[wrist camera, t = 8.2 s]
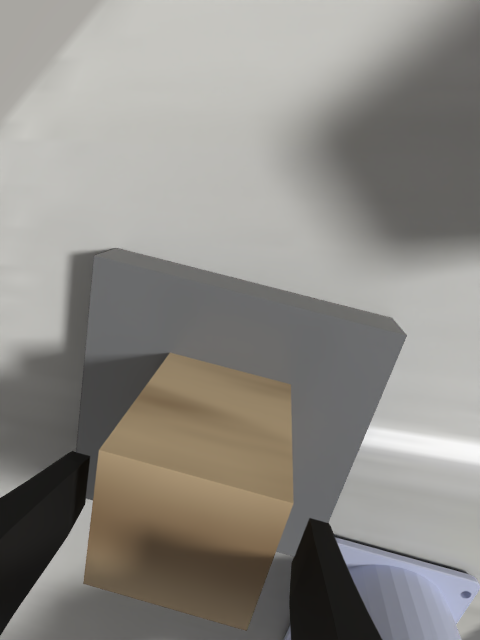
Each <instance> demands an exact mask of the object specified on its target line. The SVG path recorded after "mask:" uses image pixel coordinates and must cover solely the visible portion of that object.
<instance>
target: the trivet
mask: <svg viewBox="0 0 480 640" xmlns="http://www.w3.org/2000/svg"><path fill="white" fill-rule="evenodd" d="M406 337H407V335H406V334H405V333H404V331H403V330H402V329H401V328H400V327H399V326H398V324H397V323H396V322H395V321H394V320H393V318H390V317H386V316H382V315H378V314H374V313H370V312H366V311H362V310H358V309H355V308H351V307H347V306H343V305H339V304H335V303H331V302H327V301H323V300H319V299H315V298H311V297H307V296H303V295H299V294H296V293H292V292H288V291H284V290H280V289H276V288H272V287H268V286H264V285H260V284H256V283H252V282H248V281H244V280H241V279H237V278H233V277H229V276H225V275H221V274H217V273H213V272H209V271H205V270H201V269H197V268H193V267H189V266H186V265H182V264H178V263H174V262H170V261H166V260H162V259H158V258H154V257H150V256H146V255H142V254H138V253H134V252H130V251H127V250H123V249H119V248H115V249H112V250H109V251H106V252H103V253H100V254H97V255H94V260H93V271H92V283H91V294H90V305H89V316H88V327H87V338H86V349H85V360H84V371H83V382H82V393H81V404H80V415H79V426H78V437H77V448H76V452H77V453H81V454H84V455H88V456H90V464H89V473H88V482H87V491H86V498H87V499H90V500H93V497H94V489H95V480H96V471H97V463H98V454H99V449H100V448H101V447H102V445H103V444H104V442H105V441H106V440H107V438H108V437H109V436H110V434H111V433H112V431H113V430H114V429H115V427H116V426H117V425H118V423H119V422H120V421H121V419H122V418H123V416H124V415H125V414H126V412H127V411H128V410H129V408H130V407H131V405H132V404H133V403H134V401H135V400H136V399H137V397H138V396H139V395H140V393H141V392H142V390H143V389H144V388H145V386H146V385H147V384H148V382H149V381H150V379H151V378H152V377H153V375H154V374H155V373H156V371H157V370H158V368H159V367H160V366H161V364H162V363H163V362H164V360H165V359H166V358H167V356H168V355H169V353H173V354H177V355H181V356H185V357H189V358H192V359H196V360H200V361H204V362H208V363H211V364H215V365H219V366H223V367H227V368H230V369H234V370H238V371H242V372H246V373H249V374H253V375H257V376H261V377H265V378H268V379H272V380H276V381H280V382H284V383H287V384H291V415H292V459H293V502H294V504H293V506H292V509H291V512H290V514H289V517H288V520H287V523H286V525H285V528H284V531H283V534H282V536H281V539H280V542H279V544H278V547H277V550H276V552H279V553H283V554H286V555H290V556H293V557H294V556H295V554H296V551H297V549H298V546H299V543H300V541H301V538H302V536H303V533H304V531H305V528H306V526H307V523H308V520H309V518H312V519H316V520H319V521H323V522H326V523H328V522H329V520H330V517H331V515H332V512H333V510H334V508H335V505H336V503H337V501H338V498H339V496H340V493H341V491H342V489H343V486H344V484H345V482H346V479H347V477H348V474H349V472H350V470H351V467H352V465H353V463H354V460H355V458H356V455H357V453H358V451H359V448H360V446H361V444H362V441H363V439H364V436H365V434H366V432H367V429H368V427H369V424H370V422H371V420H372V417H373V415H374V413H375V410H376V408H377V405H378V403H379V401H380V398H381V396H382V394H383V391H384V389H385V386H386V384H387V382H388V379H389V377H390V375H391V372H392V370H393V367H394V365H395V363H396V360H397V358H398V356H399V353H400V351H401V348H402V346H403V344H404V341H405V339H406Z"/></svg>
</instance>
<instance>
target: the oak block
mask: <svg viewBox="0 0 480 640" xmlns="http://www.w3.org/2000/svg"><path fill="white" fill-rule="evenodd" d="M293 504H294V502H293V459H292V415H291V384H287V383H284V382H280V381H276V380H272V379H268V378H265V377H261V376H257V375H253V374H249V373H246V372H242V371H238V370H234V369H230V368H227V367H223V366H219V365H215V364H211V363H208V362H204V361H200V360H196V359H192V358H189V357H185V356H181V355H177V354H173V353H169V355H168V356H167V358H166V359H165V360H164V362H163V363H162V364H161V366H160V367H159V368H158V370H157V371H156V373H155V374H154V375H153V377H152V378H151V379H150V381H149V382H148V384H147V385H146V386H145V388H144V389H143V390H142V392H141V393H140V395H139V396H138V397H137V399H136V400H135V401H134V403H133V404H132V405H131V407H130V408H129V410H128V411H127V412H126V414H125V415H124V416H123V418H122V419H121V421H120V422H119V423H118V425H117V426H116V427H115V429H114V430H113V431H112V433H111V434H110V436H109V437H108V438H107V440H106V441H105V442H104V444H103V445H102V447H101V448H100V449H99V454H98V463H97V471H96V480H95V489H94V497H93V506H92V514H91V523H90V532H89V540H88V549H87V557H86V566H85V575H84V583H83V584H86V585H90V586H93V587H97V588H100V589H104V590H107V591H110V592H114V593H117V594H121V595H124V596H128V597H131V598H135V599H138V600H142V601H145V602H149V603H152V604H155V605H159V606H162V607H166V608H169V609H173V610H176V611H180V612H183V613H187V614H190V615H193V616H197V617H200V618H204V619H207V620H211V621H214V622H218V623H221V624H225V625H228V626H231V627H235V628H238V629H242V630H245V631H247V629H248V626H249V624H250V621H251V618H252V615H253V613H254V610H255V607H256V604H257V602H258V599H259V596H260V594H261V591H262V588H263V585H264V583H265V580H266V577H267V574H268V572H269V569H270V566H271V564H272V561H273V558H274V555H275V553H276V550H277V547H278V544H279V542H280V539H281V536H282V534H283V531H284V528H285V525H286V523H287V520H288V517H289V514H290V512H291V509H292V506H293Z"/></svg>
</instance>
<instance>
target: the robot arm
mask: <svg viewBox="0 0 480 640" xmlns="http://www.w3.org/2000/svg"><path fill="white" fill-rule="evenodd" d="M89 464H90V456H88V455H84V454H81V453H77V452H74V451H72V452H70V453H68V454H67V455H65V456H64V457H62V458H61V459H59V460H58V461H56V462H55V463H53V464H52V465H50V466H49V467H47V468H46V469H45V470H43V471H42V472H40V473H39V474H37V475H36V476H34V477H33V478H31V479H30V480H28V481H26V482H25V483H23V484H22V485H20V486H19V487H17V488H15V489H14V490H12V491H11V492H9V493H8V494H6V495H4V496H3V497H1V498H0V635H1V634H2V632H3V630H4V629H5V627H6V626H7V624H8V623H9V621H10V619H11V618H12V616H13V615H14V613H15V612H16V610H17V609H18V607H19V606H20V604H21V603H22V602H23V600H24V599H25V597H26V596H27V594H28V593H29V591H30V590H31V589H32V587H33V586H34V584H35V583H36V581H37V580H38V578H39V577H40V576H41V574H42V573H43V571H44V570H45V568H46V567H47V566H48V564H49V563H50V561H51V560H52V558H53V557H54V555H55V554H56V552H57V551H58V550H59V548H60V547H61V545H62V544H63V542H64V541H65V539H66V538H67V536H68V534H69V533H70V531H71V529H72V527H73V525H74V524H75V522H76V520H77V518H78V516H79V514H80V513H81V511H82V509H83V507H84V505H85V500H86V491H87V482H88V473H89ZM479 589H480V585H479V583H478V581H477V579H476V578H475V577H474V576H472V575H469V574H466V573H462V572H459V571H455V570H451V569H448V568H444V567H441V566H437V565H433V564H430V563H426V562H423V561H419V560H415V559H412V558H408V557H405V556H401V555H397V554H394V553H390V552H387V551H383V550H379V549H376V548H372V547H369V546H365V545H361V544H358V543H354V542H351V541H347V540H343V539H340V538H335V536H334V534H333V531H332V529H331V526H330V525H329V523H326V522H323V521H319V520H316V519H312V518H309V520H308V523H307V526H306V528H305V531H304V533H303V536H302V538H301V541H300V543H299V546H298V549H297V551H296V554H295V556H294V559H293V561H292V566H291V582H290V626H289V628H288V631H287V633H286V635H285V638H284V640H462V639H461V637H460V634H459V632H458V629H457V627H456V624H457V622H458V621H459V619H460V618H461V616H462V615H463V614H464V612H465V611H466V609H467V608H468V606H469V605H470V603H471V602H472V600H473V599H474V597H475V596H476V594H477V593H478V591H479Z"/></svg>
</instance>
